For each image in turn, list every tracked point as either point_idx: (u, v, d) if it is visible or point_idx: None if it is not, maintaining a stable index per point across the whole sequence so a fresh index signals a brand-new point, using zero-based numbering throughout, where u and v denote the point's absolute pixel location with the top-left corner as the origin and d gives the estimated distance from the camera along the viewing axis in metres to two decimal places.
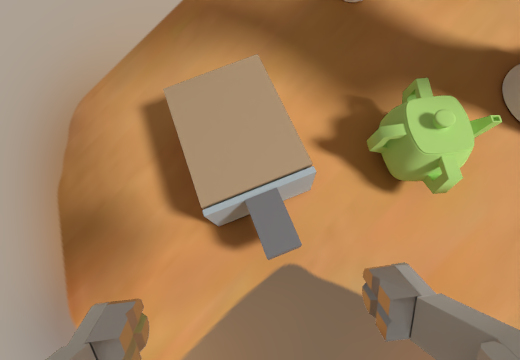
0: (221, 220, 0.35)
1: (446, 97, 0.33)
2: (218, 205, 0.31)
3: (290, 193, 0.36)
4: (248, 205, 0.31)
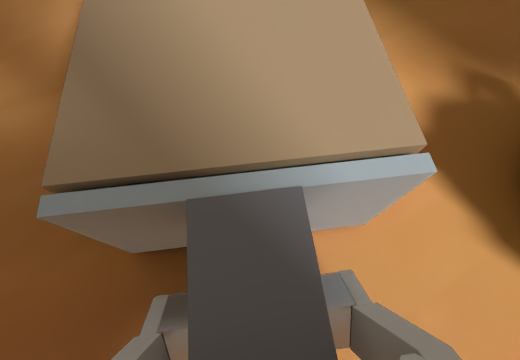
0: (130, 242, 0.13)
1: None
2: (98, 194, 0.09)
3: (322, 220, 0.14)
4: (192, 220, 0.09)
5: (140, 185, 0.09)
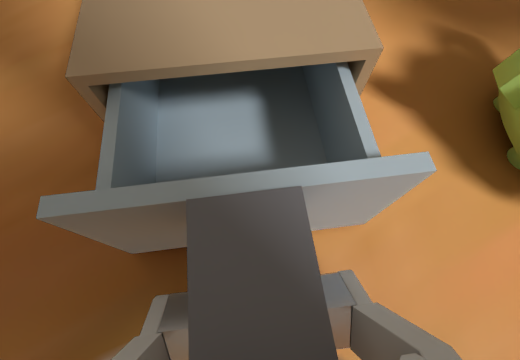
0: (130, 242, 0.13)
1: None
2: (97, 195, 0.09)
3: (322, 219, 0.14)
4: (191, 220, 0.09)
5: (140, 185, 0.09)
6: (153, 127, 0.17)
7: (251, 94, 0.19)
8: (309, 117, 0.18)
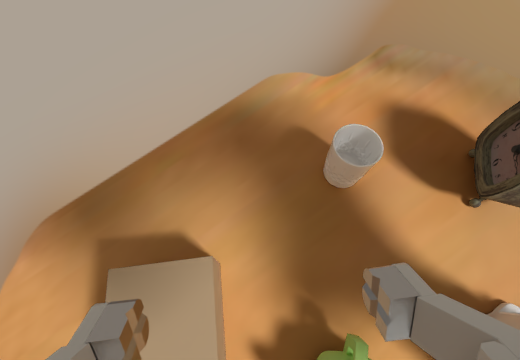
0: None
1: None
2: None
3: None
4: None
5: None
6: None
7: None
8: None
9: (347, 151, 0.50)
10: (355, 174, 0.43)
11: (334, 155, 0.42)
